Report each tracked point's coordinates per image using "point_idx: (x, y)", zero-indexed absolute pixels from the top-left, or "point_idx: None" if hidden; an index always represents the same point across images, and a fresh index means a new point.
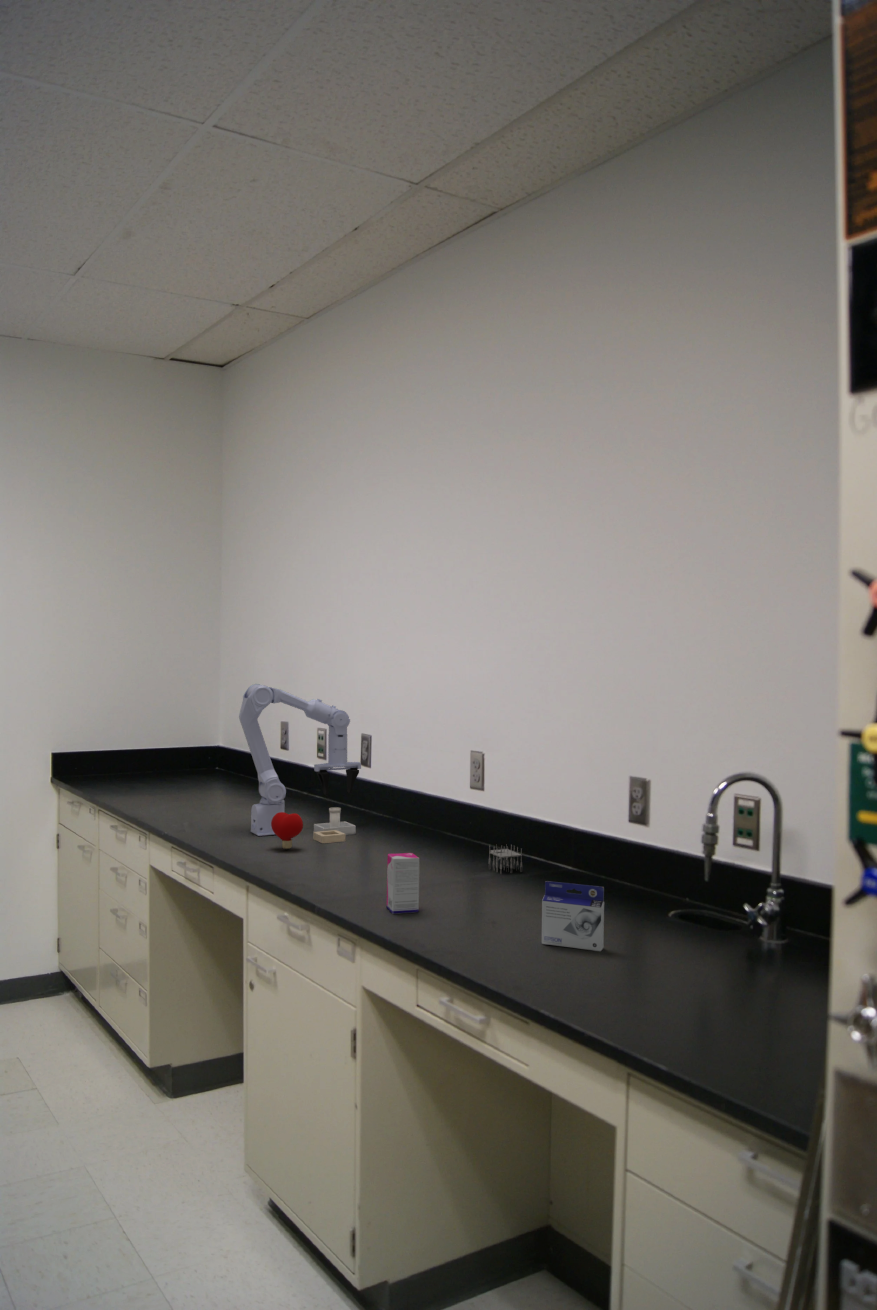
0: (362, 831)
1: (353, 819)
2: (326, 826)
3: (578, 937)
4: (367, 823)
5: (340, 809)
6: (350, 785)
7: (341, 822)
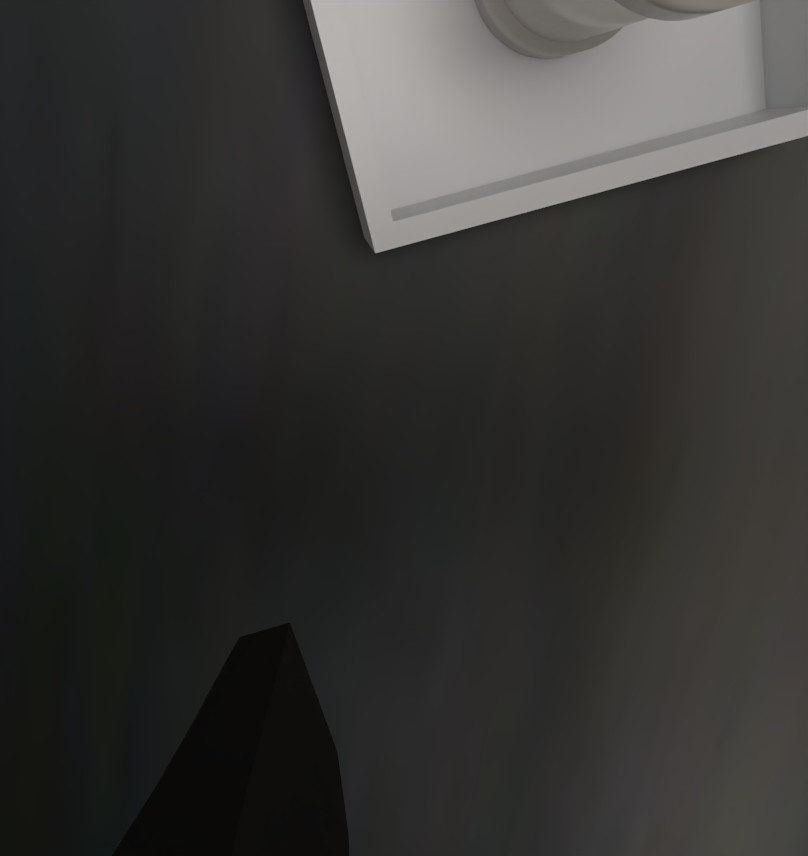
0: (135, 53)
1: None
2: (647, 146)
3: None
4: (48, 589)
5: None
6: (264, 771)
7: (436, 206)
